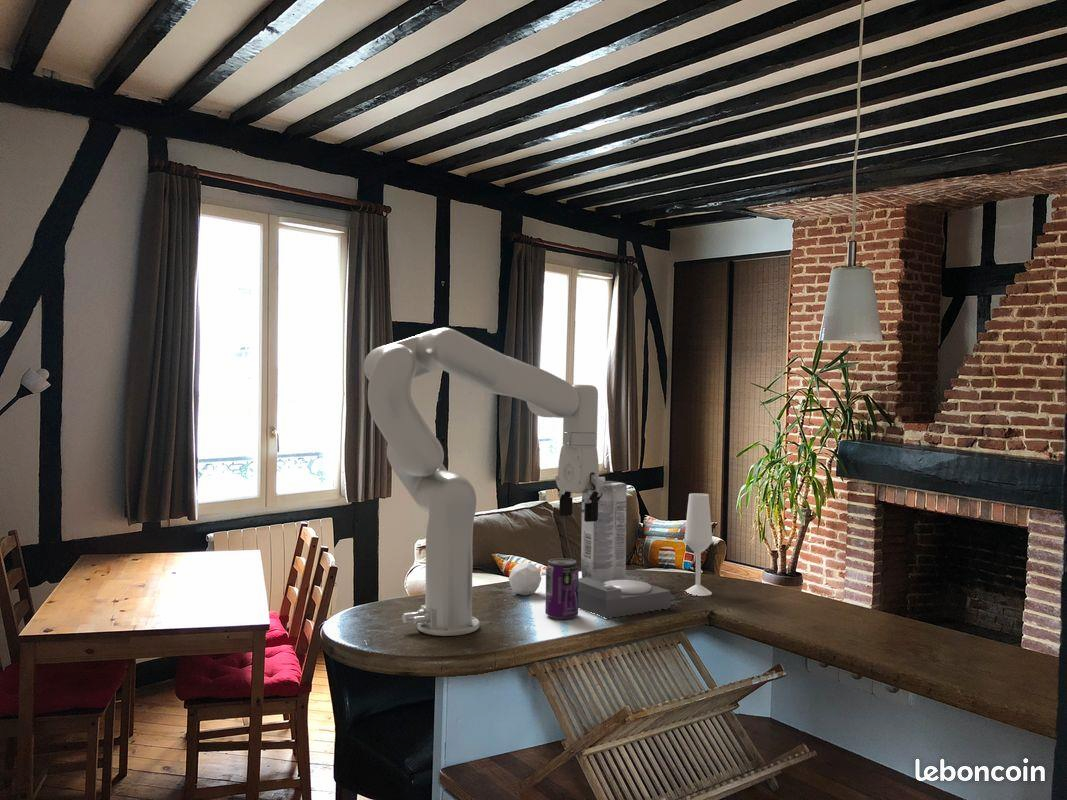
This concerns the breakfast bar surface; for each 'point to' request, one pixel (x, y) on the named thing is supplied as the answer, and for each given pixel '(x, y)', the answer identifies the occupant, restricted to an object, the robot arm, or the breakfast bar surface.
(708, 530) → the champagne flute
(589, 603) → the grey display pedestal
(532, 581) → the geometric ball
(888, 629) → the breakfast bar surface
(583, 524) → the juice carton
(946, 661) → the breakfast bar surface
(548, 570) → the beverage can
